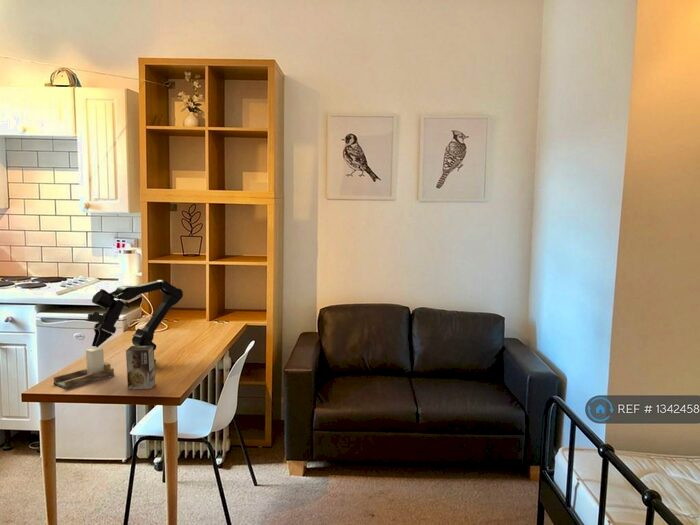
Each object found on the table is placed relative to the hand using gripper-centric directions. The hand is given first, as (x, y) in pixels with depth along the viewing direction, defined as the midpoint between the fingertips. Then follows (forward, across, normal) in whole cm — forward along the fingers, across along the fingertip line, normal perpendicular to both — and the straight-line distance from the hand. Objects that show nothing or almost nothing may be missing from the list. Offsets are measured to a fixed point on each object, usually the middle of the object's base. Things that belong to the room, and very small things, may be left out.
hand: (94, 346), depth 216 cm
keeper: (+10, -1, +6) cm, 12 cm away
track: (+14, 0, +3) cm, 14 cm away
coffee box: (+8, +21, +20) cm, 31 cm away
